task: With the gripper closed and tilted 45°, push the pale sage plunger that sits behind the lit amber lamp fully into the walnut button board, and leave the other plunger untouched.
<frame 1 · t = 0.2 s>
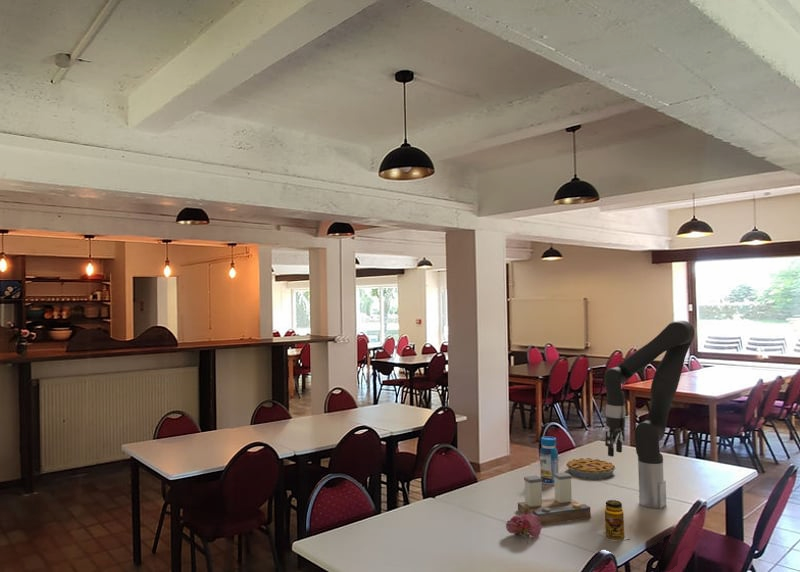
hand: (615, 454, 241), 18 cm above the table, tool pointing down, fingers open, 8 cm apart
other plunger: (533, 491, 224), point 8 cm above the table, slide at 0.0 cm
pie: (590, 473, 275), on the table
beverage bottle: (549, 482, 261), on the table
condiment: (613, 536, 201), on the table
button board: (553, 514, 222), on the table
marked plunger: (562, 487, 228), point 8 cm above the table, slide at 0.0 cm
flower: (523, 537, 202), on the table
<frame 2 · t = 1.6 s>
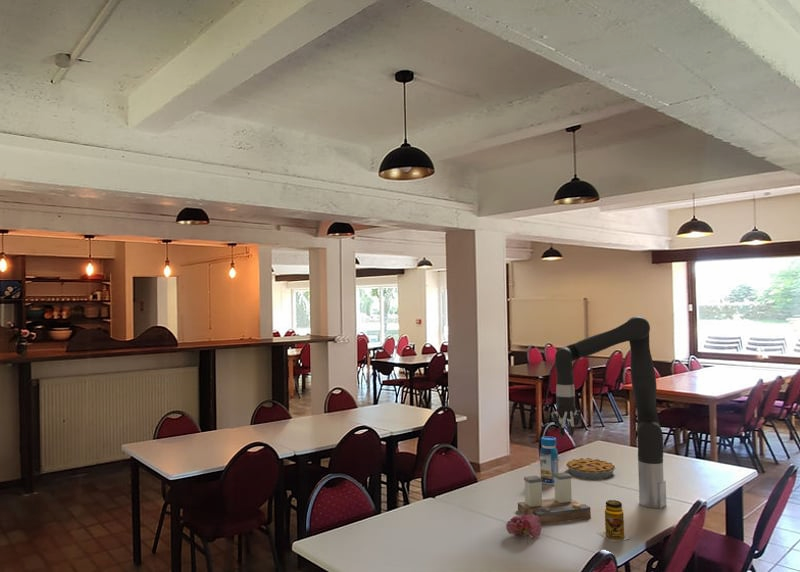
hand: (566, 435, 244), 25 cm above the table, tool pointing down, fingers open, 3 cm apart
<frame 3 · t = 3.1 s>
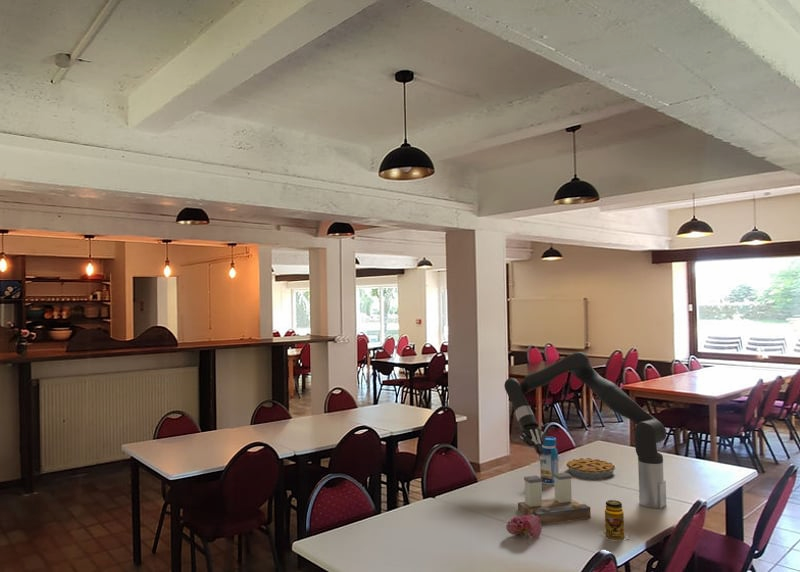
hand: (540, 453, 244), 18 cm above the table, tool tilted 45°, fingers closed
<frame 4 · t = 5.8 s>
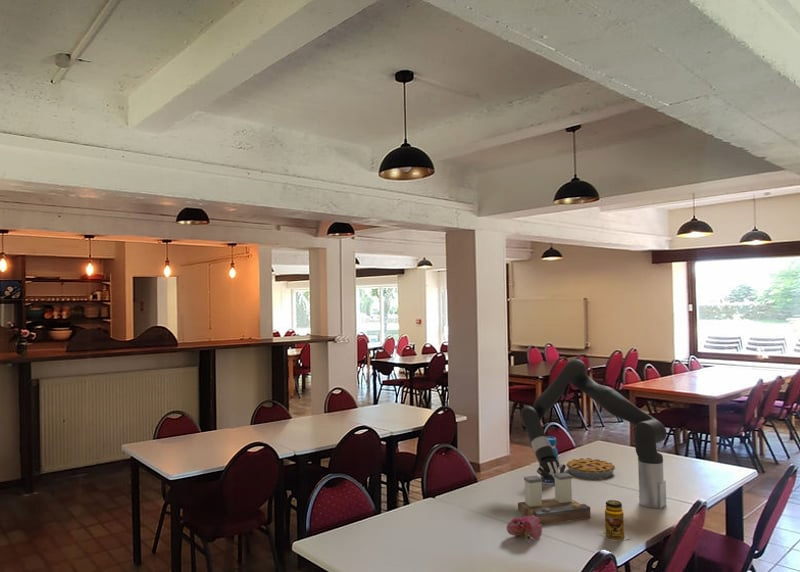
hand: (559, 488, 230), 7 cm above the table, tool tilted 45°, fingers closed
marked plunger: (563, 487, 228), point 8 cm above the table, slide at 0.2 cm, touching gripper
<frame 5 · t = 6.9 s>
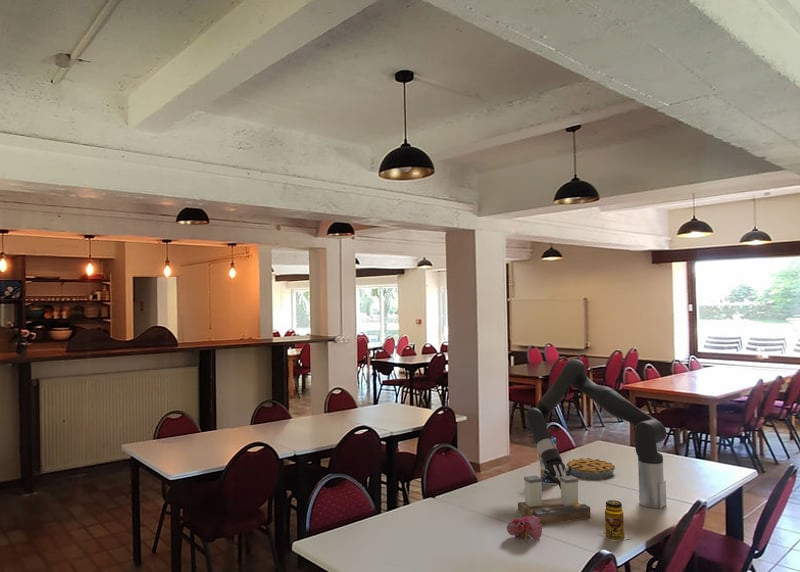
hand: (565, 491, 226), 7 cm above the table, tool tilted 45°, fingers closed
marked plunger: (569, 491, 223), point 8 cm above the table, slide at 4.6 cm, touching gripper
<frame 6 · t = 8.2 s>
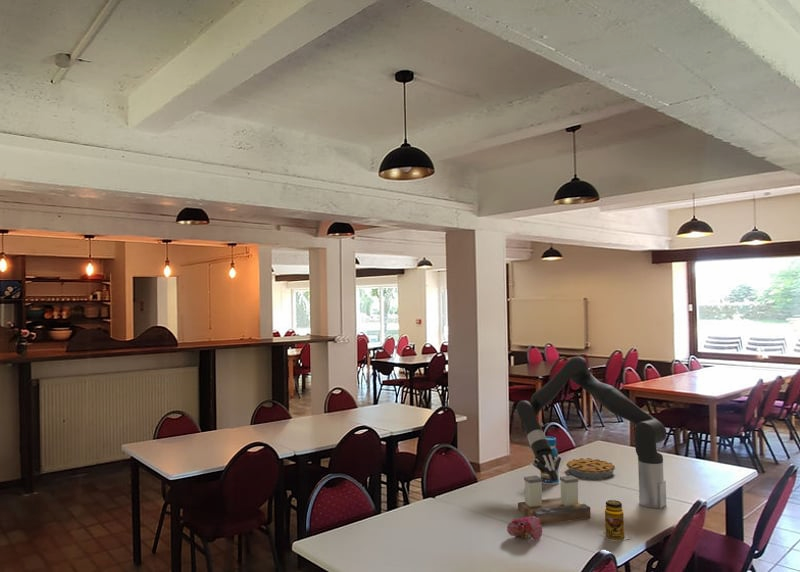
hand: (555, 480, 233), 10 cm above the table, tool tilted 45°, fingers closed
marked plunger: (569, 491, 223), point 8 cm above the table, slide at 4.6 cm
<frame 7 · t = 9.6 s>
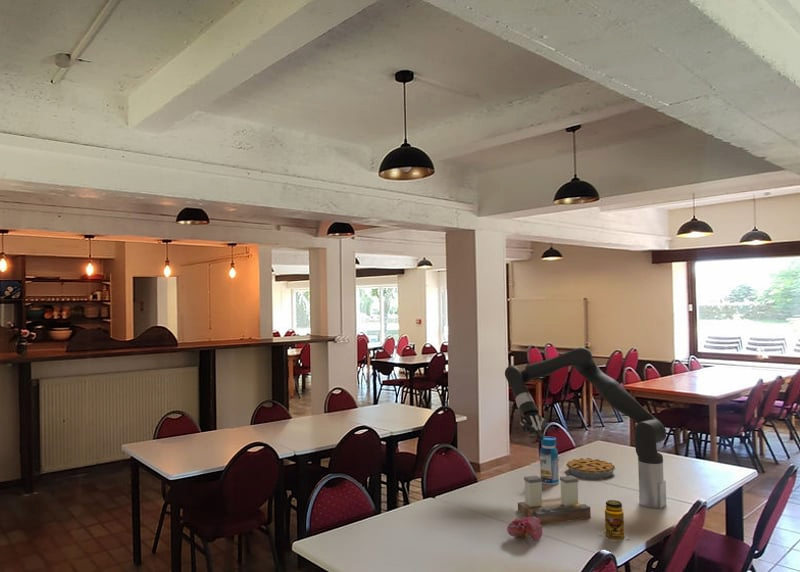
hand: (541, 439, 244), 24 cm above the table, tool tilted 45°, fingers closed
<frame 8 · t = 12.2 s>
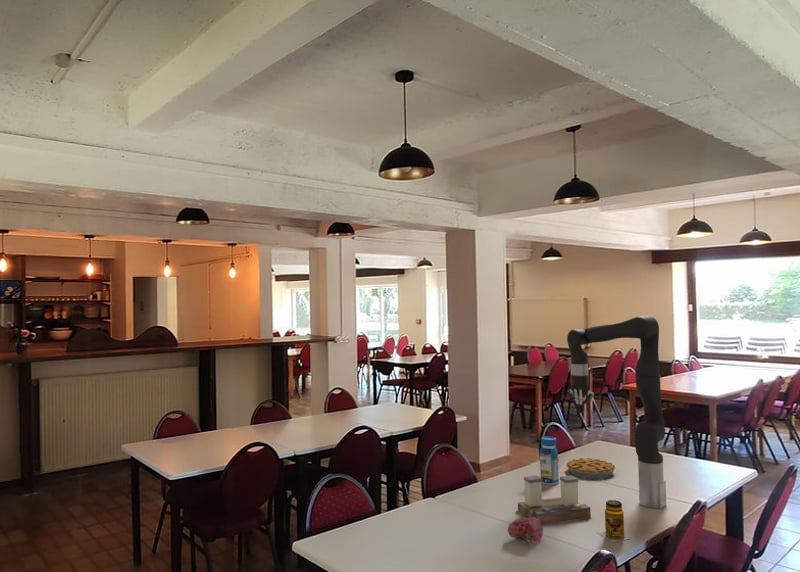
hand: (580, 412, 258), 32 cm above the table, tool pointing down, fingers closed
at the end: marked plunger slide at 4.6 cm; other plunger slide at 0.0 cm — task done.
